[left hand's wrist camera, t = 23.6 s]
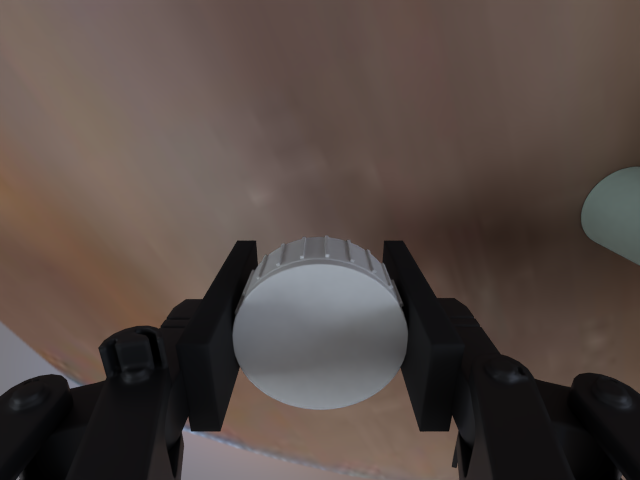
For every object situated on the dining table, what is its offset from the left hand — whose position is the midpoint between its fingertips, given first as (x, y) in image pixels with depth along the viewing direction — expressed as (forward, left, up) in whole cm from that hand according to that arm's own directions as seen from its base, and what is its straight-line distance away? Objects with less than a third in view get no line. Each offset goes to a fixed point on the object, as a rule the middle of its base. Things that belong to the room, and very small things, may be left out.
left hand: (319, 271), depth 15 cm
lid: (0, 0, +4) cm, 4 cm away
